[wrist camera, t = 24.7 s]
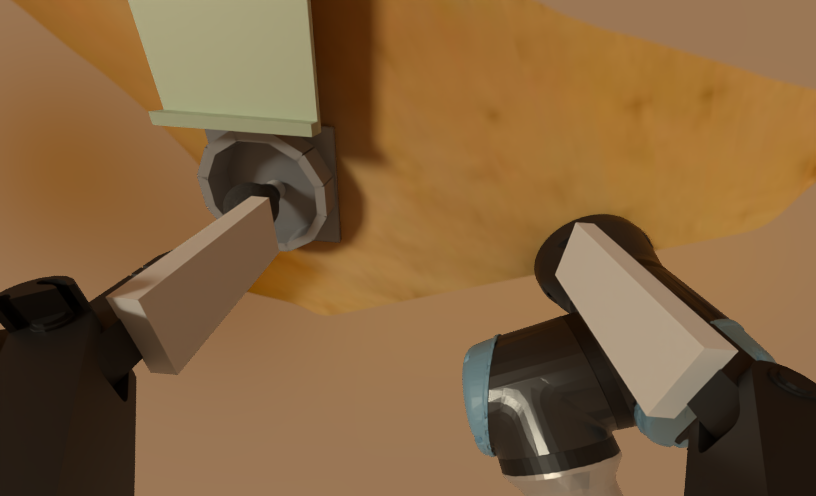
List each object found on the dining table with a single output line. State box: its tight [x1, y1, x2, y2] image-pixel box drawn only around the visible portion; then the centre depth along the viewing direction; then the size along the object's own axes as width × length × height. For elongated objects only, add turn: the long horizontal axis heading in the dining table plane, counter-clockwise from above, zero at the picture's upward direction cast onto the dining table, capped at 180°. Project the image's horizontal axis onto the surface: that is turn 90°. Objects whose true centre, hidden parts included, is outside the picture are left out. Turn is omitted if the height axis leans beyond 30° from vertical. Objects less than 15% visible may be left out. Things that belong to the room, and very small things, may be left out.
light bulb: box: [223, 180, 286, 222], centre depth 35 cm, size 6×6×10 cm
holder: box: [197, 126, 341, 251], centre depth 38 cm, size 16×16×5 cm
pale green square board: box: [128, 0, 321, 137], centre depth 26 cm, size 16×16×3 cm
